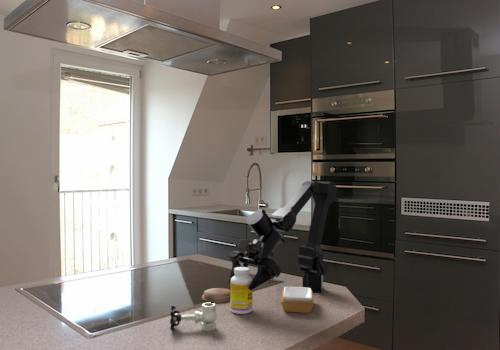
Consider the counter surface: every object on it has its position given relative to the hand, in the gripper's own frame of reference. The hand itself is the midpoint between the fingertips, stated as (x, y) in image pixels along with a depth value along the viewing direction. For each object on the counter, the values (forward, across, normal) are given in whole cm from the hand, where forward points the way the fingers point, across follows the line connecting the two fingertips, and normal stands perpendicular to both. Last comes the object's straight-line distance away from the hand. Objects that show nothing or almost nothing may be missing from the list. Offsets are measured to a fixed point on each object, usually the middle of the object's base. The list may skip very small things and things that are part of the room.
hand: (239, 286), depth 123 cm
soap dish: (-6, +9, +17) cm, 20 cm away
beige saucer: (+3, -15, +8) cm, 17 cm away
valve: (+18, +2, -7) cm, 20 cm away
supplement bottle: (+5, 0, +6) cm, 8 cm away
